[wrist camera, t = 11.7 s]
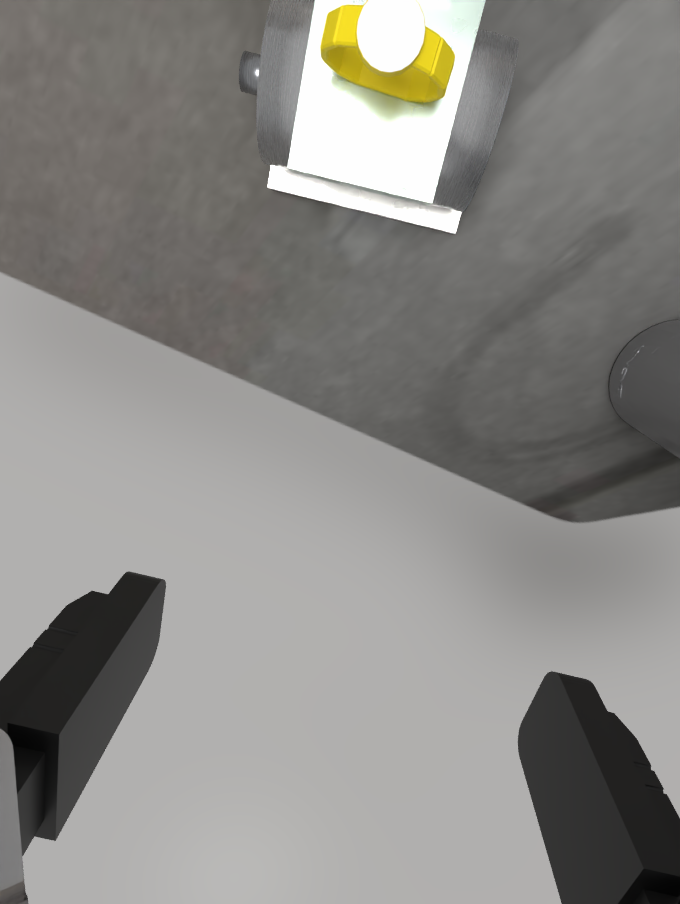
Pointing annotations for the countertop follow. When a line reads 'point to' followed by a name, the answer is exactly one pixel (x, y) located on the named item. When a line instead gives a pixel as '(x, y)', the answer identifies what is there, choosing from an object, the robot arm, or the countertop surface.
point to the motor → (378, 117)
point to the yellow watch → (388, 49)
